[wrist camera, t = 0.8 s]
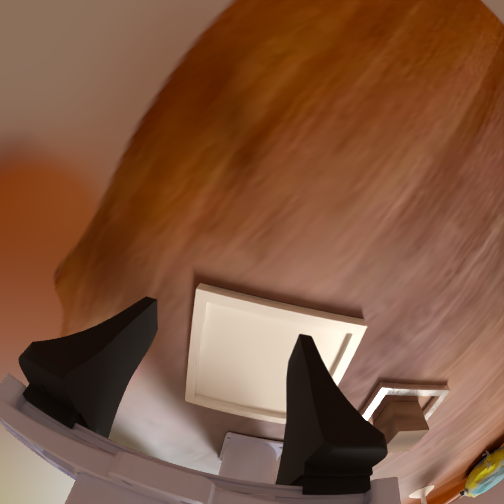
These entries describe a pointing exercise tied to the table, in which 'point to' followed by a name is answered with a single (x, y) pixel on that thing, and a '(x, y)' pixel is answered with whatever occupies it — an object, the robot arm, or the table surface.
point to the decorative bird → (485, 474)
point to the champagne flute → (422, 493)
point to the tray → (258, 350)
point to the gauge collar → (406, 390)
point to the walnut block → (402, 425)
